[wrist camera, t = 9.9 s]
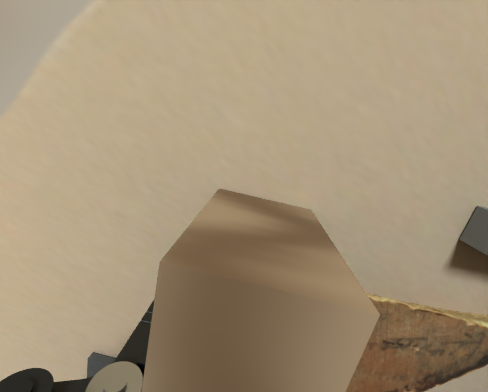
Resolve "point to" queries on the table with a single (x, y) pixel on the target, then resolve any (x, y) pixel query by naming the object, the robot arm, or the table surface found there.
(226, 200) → the block
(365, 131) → the table surface
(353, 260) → the table surface
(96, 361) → the rest mat
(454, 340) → the shard
